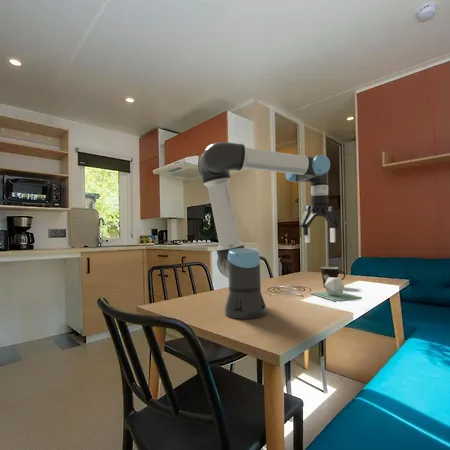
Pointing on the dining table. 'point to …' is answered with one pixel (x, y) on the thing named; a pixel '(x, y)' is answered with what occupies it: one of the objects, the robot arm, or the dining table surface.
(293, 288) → the dining table surface
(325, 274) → the coffee mug
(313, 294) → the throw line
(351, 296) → the mat
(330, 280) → the die
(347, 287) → the dining table surface
